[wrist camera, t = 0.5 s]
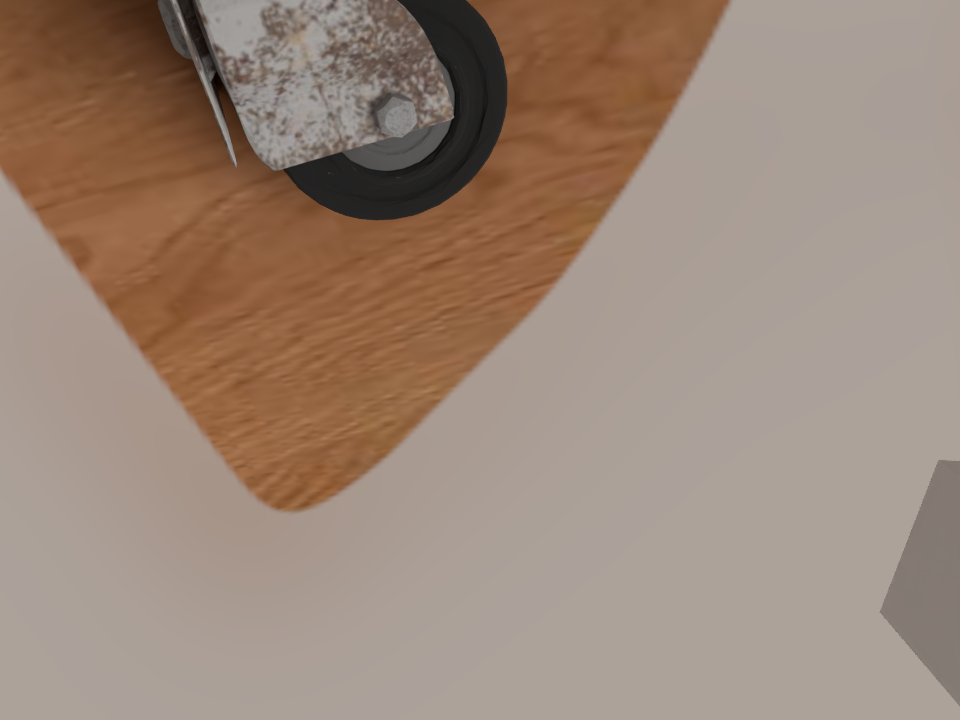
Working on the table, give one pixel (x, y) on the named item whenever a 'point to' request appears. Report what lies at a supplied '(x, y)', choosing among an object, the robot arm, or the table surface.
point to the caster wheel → (353, 93)
